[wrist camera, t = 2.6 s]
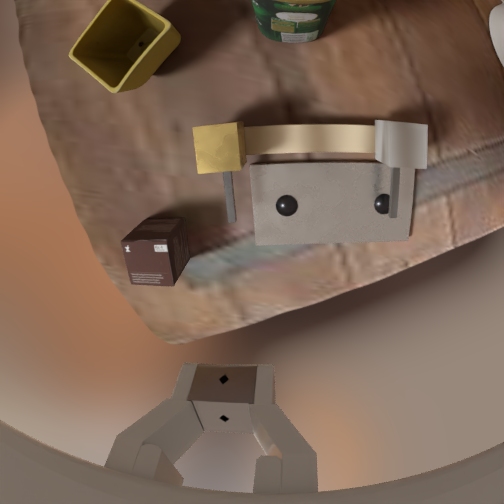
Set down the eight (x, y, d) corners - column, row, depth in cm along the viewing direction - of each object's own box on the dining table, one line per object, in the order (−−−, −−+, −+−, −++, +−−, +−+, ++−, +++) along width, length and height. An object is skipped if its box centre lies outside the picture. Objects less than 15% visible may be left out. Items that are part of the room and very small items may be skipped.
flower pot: (150, 97, 31) (113, 95, 23) (107, 62, 29) (66, 55, 21) (198, 43, 28) (173, 23, 20) (151, 10, 26) (117, -12, 18)
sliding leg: (243, 121, 29) (236, 122, 24) (251, 217, 33) (246, 234, 29) (205, 125, 29) (192, 127, 25) (216, 219, 34) (206, 236, 29)
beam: (412, 122, 29) (444, 127, 22) (409, 205, 34) (436, 228, 27) (212, 124, 32) (193, 127, 25) (221, 210, 37) (207, 235, 30)
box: (151, 257, 41) (129, 285, 34) (144, 218, 38) (118, 240, 32) (191, 258, 40) (174, 287, 34) (186, 217, 38) (166, 240, 31)
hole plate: (411, 163, 32) (415, 165, 31) (405, 237, 36) (408, 241, 35) (250, 164, 34) (249, 165, 33) (256, 242, 38) (255, 245, 37)
